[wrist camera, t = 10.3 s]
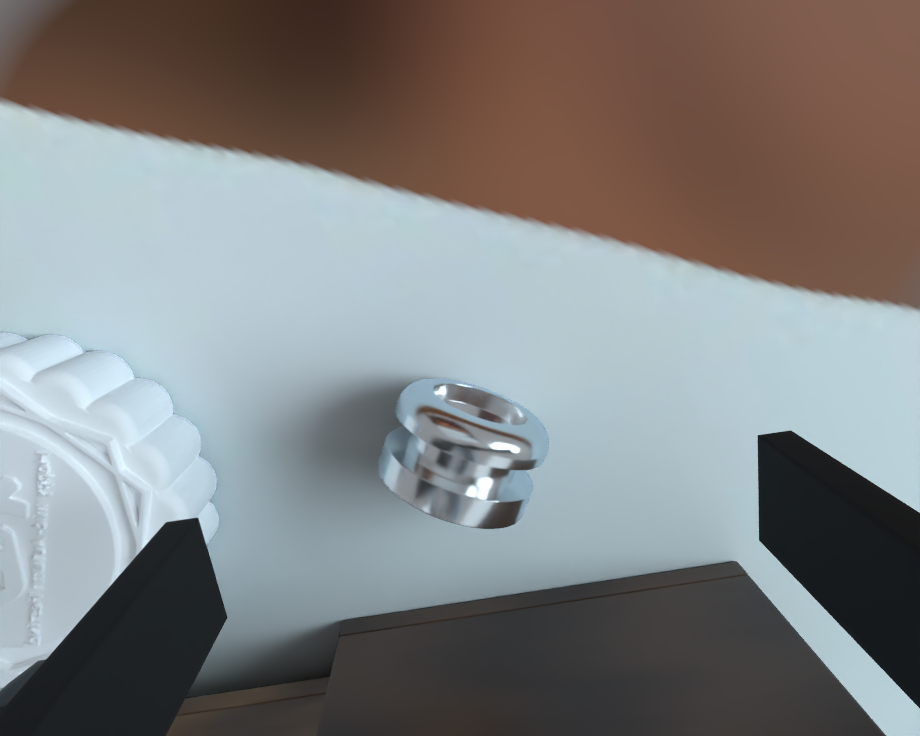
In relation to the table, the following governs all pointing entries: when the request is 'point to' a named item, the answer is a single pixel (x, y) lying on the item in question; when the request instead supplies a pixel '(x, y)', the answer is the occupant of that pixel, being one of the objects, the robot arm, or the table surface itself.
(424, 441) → the grooved metal pulley
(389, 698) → the cabinet
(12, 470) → the mooncake
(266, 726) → the drawer
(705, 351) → the table surface
